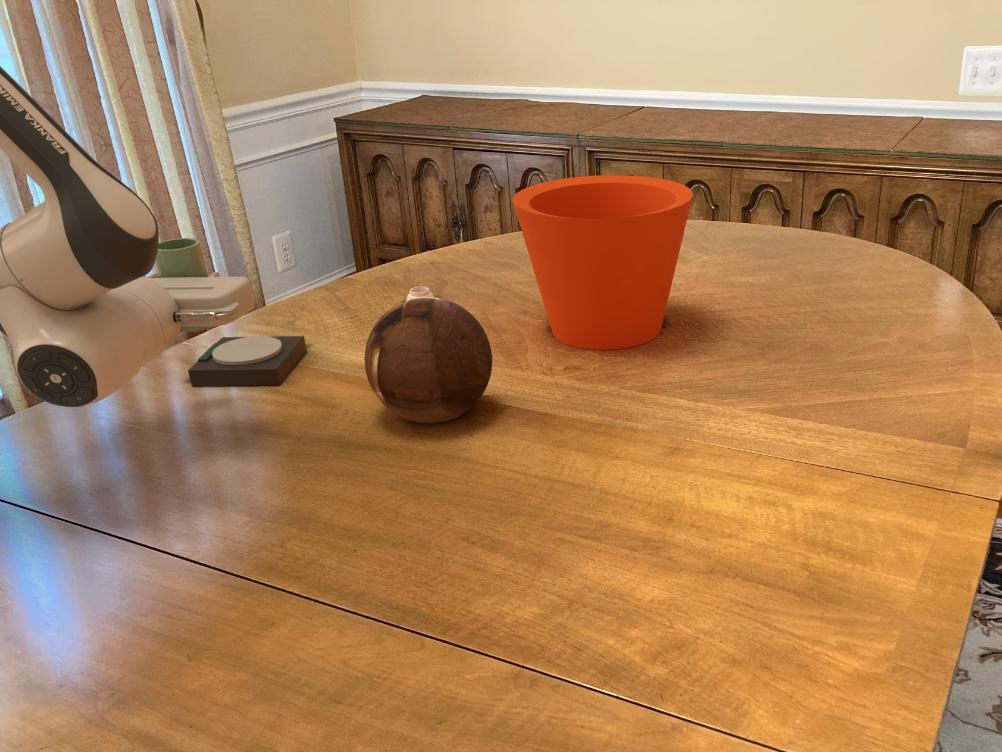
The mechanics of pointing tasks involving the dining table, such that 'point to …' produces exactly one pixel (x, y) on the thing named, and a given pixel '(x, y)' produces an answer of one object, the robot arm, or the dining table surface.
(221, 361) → the scale
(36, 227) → the robot arm
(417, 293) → the lidless jar
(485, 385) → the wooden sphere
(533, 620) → the dining table surface
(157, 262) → the cup
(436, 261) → the dining table surface
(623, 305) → the flowerpot
